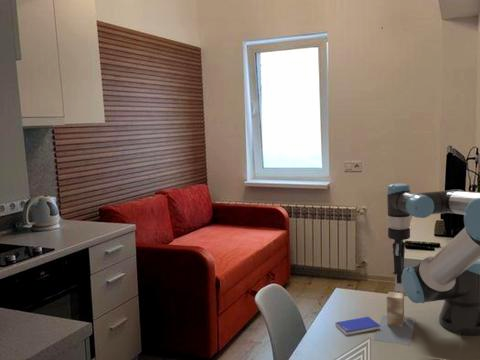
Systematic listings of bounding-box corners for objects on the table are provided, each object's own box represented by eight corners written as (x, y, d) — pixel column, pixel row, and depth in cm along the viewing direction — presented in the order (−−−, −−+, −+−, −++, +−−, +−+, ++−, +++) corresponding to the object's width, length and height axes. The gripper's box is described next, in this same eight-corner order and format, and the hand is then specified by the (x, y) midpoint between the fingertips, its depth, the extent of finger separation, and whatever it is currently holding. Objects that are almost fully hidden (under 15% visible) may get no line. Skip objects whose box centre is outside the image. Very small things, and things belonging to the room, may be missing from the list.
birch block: (404, 320, 163) (404, 293, 162) (402, 327, 158) (402, 298, 157) (389, 318, 165) (388, 291, 164) (387, 325, 160) (386, 296, 159)
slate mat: (415, 320, 163) (415, 319, 163) (409, 346, 145) (409, 345, 145) (382, 316, 168) (382, 315, 168) (373, 341, 150) (373, 339, 150)
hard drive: (346, 331, 154) (380, 324, 157) (335, 321, 162) (367, 315, 165) (346, 335, 154) (380, 329, 157) (335, 326, 162) (367, 320, 165)
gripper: (390, 222, 175) (391, 283, 178) (385, 230, 164) (386, 296, 166) (411, 223, 172) (412, 286, 175) (407, 231, 160) (408, 298, 163)
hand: (399, 290), depth 171 cm, fingers closed
